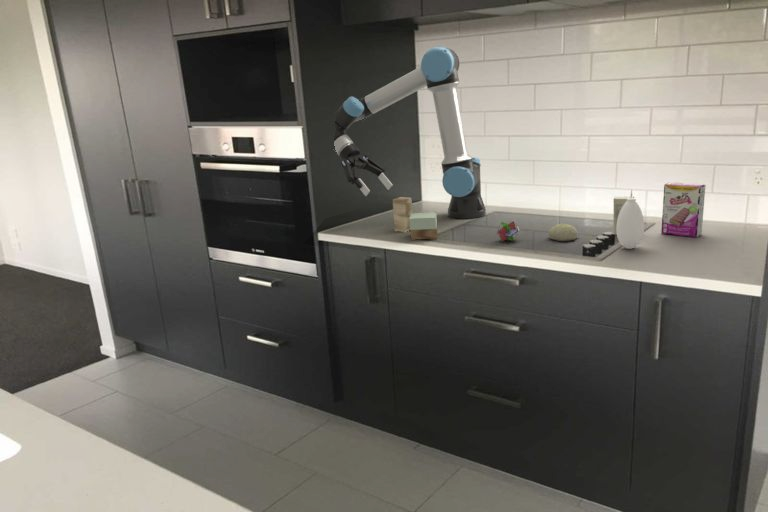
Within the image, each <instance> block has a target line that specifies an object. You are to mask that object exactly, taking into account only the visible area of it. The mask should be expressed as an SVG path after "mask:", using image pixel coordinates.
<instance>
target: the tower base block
mask: <svg viewBox="0 0 768 512" xmlns="http://www.w3.org/2000/svg"><path fill="white" fill-rule="evenodd" d="M437 234H438V224H437V225H436V229H421V230H411V231H410V240H411V239H413V240H412V241H416V240H415V239H431V240H438V235H437Z"/></svg>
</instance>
